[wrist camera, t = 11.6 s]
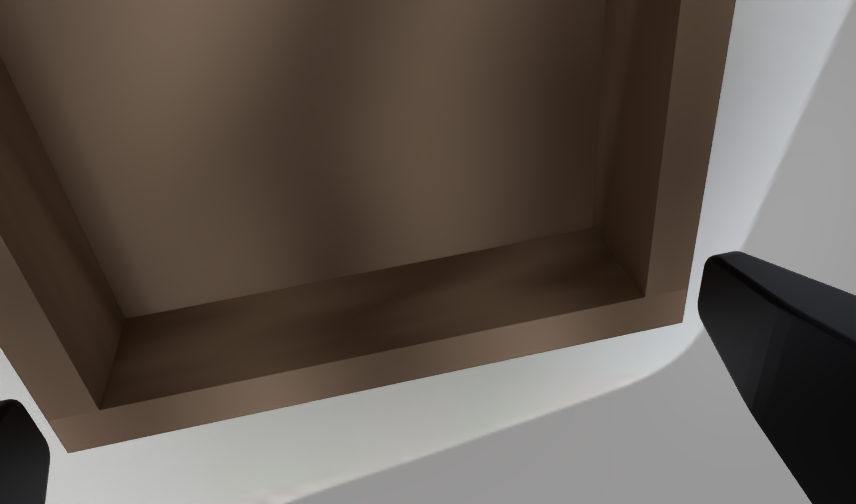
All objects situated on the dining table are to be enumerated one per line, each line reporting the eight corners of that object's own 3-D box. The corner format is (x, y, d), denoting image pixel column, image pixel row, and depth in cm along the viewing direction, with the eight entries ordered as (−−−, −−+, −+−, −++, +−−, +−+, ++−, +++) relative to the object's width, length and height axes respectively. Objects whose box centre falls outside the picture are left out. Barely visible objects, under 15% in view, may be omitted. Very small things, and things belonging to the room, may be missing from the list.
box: (667, -308, 14) (793, -343, 10) (620, 244, 21) (682, 322, 18) (-190, -217, 12) (-365, -225, 9) (101, 346, 20) (68, 453, 16)
